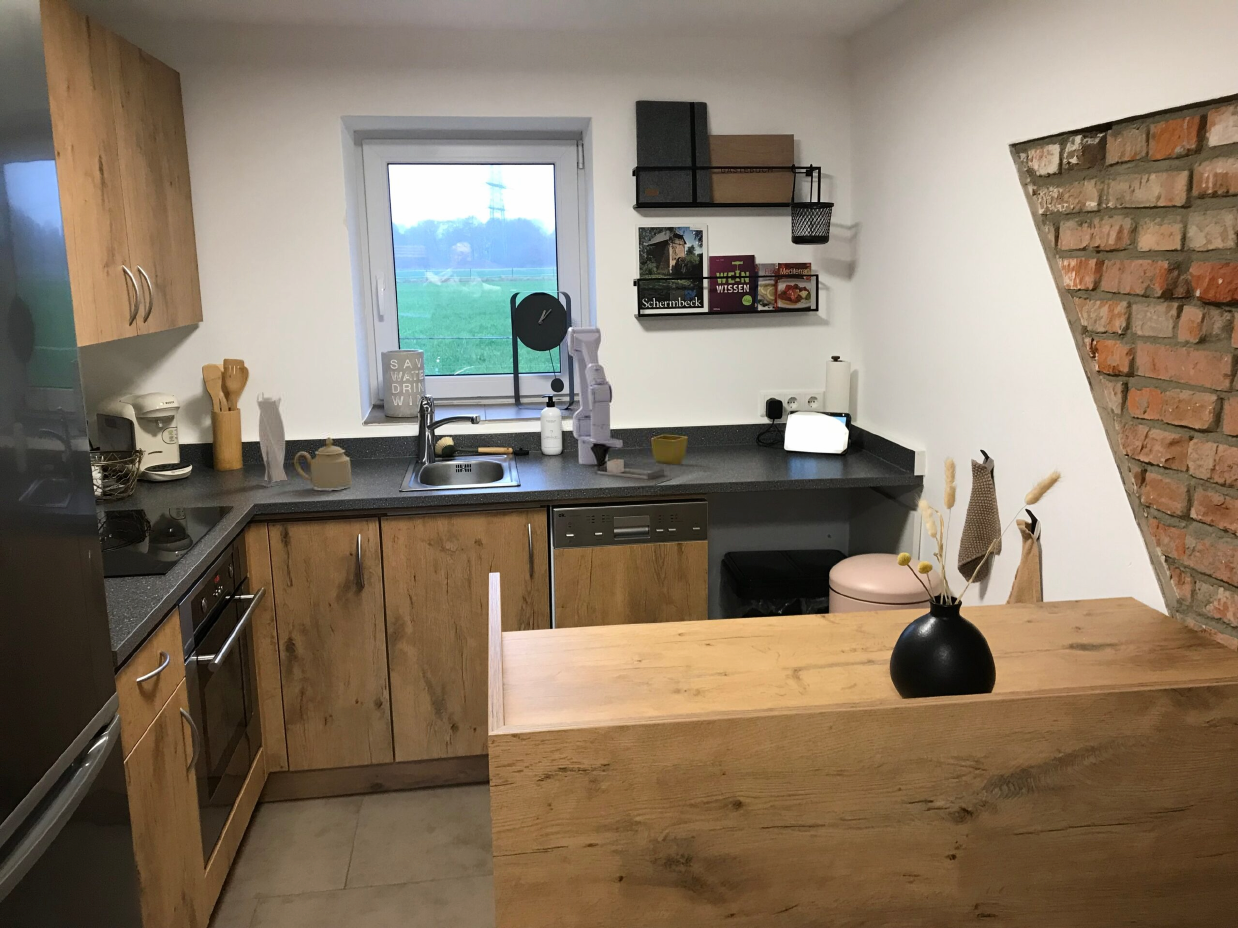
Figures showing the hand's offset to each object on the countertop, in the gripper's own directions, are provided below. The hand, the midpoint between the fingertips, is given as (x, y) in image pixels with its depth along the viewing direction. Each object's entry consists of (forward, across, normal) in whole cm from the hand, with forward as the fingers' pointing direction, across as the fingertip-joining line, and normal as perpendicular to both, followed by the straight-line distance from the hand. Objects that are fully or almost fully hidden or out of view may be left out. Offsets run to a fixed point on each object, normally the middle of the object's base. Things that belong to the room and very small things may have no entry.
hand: (601, 468), depth 292 cm
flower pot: (+2, +9, +24) cm, 26 cm away
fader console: (+2, +10, 0) cm, 10 cm away
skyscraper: (+3, -80, -58) cm, 99 cm away
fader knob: (+1, +5, 0) cm, 5 cm away
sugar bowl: (+3, -60, -55) cm, 81 cm away
